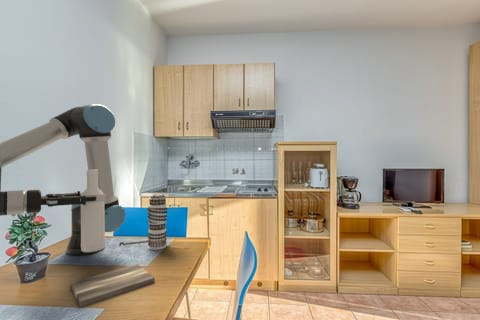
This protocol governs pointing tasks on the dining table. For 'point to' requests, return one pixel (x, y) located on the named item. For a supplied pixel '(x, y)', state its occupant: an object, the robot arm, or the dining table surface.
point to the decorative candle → (157, 222)
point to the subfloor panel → (110, 284)
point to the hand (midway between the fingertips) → (102, 196)
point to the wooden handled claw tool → (132, 242)
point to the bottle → (92, 217)
